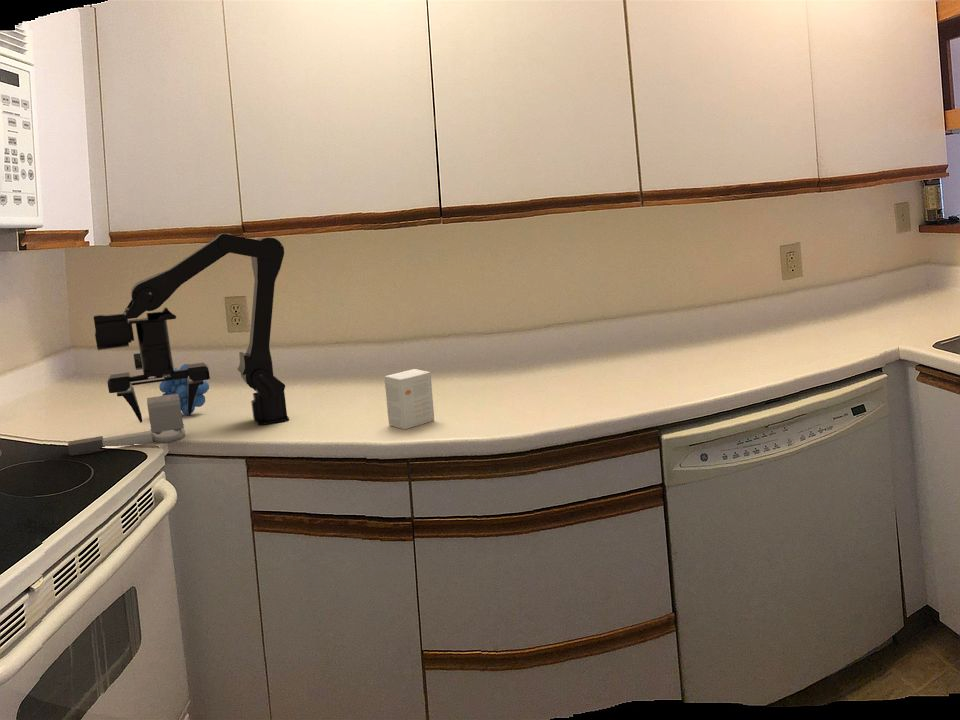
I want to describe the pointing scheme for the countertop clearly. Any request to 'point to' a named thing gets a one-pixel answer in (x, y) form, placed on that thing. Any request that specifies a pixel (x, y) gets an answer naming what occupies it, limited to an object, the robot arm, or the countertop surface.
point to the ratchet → (126, 440)
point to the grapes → (184, 391)
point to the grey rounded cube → (165, 413)
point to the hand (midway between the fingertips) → (165, 418)
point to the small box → (409, 398)
